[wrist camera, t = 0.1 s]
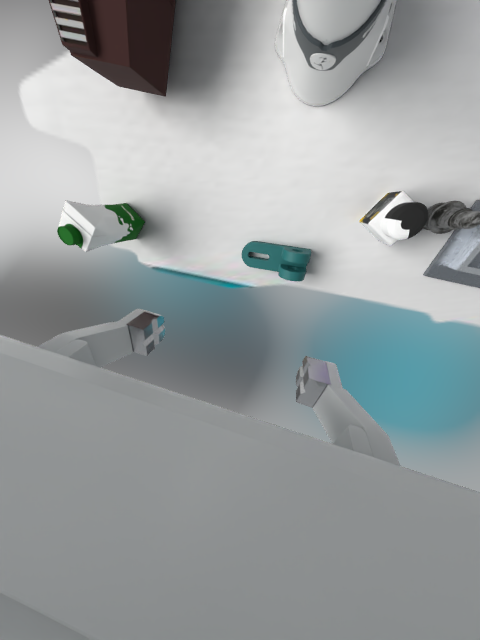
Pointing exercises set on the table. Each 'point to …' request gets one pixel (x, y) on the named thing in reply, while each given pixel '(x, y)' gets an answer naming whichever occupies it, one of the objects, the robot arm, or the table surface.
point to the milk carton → (98, 224)
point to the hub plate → (459, 257)
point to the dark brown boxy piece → (120, 39)
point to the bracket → (278, 259)
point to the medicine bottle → (395, 218)
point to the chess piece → (451, 217)
